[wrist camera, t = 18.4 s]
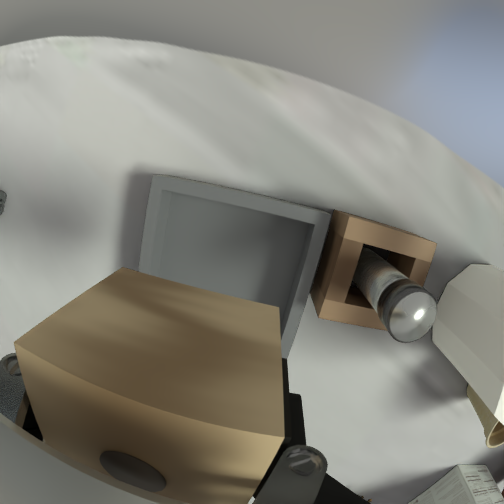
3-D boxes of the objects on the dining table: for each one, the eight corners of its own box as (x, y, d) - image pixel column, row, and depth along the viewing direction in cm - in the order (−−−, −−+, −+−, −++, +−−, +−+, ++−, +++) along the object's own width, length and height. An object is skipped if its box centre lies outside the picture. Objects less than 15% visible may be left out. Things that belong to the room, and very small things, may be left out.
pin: (339, 277, 23) (379, 340, 13) (350, 242, 22) (401, 285, 13) (372, 284, 23) (424, 346, 13) (382, 250, 22) (445, 296, 13)
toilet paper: (505, 321, 23) (567, 372, 12) (437, 370, 25) (490, 444, 13) (496, 244, 22) (581, 281, 10) (420, 296, 23) (498, 367, 11)
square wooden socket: (310, 293, 24) (318, 317, 19) (334, 209, 22) (349, 216, 18) (384, 309, 24) (403, 333, 19) (410, 232, 22) (437, 243, 18)
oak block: (120, 384, 12) (59, 475, 6) (122, 267, 10) (11, 343, 5) (243, 419, 12) (228, 534, 6) (279, 307, 10) (284, 440, 4)
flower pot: (504, 330, 24) (546, 365, 15) (513, 371, 25) (545, 404, 17) (448, 383, 25) (482, 430, 17) (463, 416, 27) (490, 457, 18)
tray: (146, 315, 25) (133, 330, 22) (167, 175, 22) (153, 174, 19) (282, 349, 25) (283, 369, 22) (323, 210, 22) (331, 214, 19)
